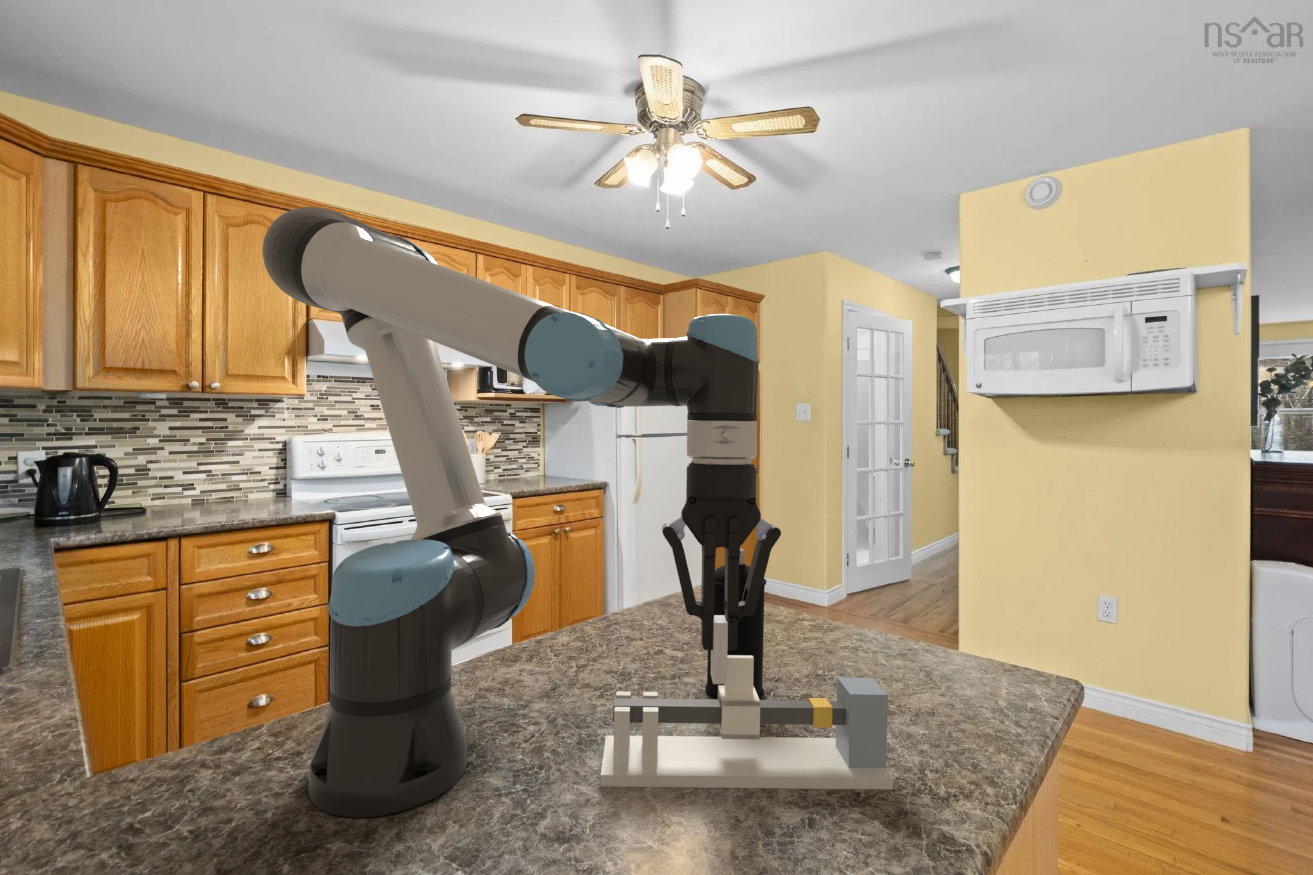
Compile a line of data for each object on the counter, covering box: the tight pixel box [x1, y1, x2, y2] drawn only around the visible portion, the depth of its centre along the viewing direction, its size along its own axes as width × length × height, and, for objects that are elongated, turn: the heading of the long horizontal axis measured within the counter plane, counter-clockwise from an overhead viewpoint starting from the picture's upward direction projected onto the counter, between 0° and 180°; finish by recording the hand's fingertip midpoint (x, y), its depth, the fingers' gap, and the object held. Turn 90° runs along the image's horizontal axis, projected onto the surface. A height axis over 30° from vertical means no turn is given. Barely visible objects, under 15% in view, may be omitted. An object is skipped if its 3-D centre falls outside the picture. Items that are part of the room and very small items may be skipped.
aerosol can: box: [704, 547, 768, 700], centre depth 85 cm, size 8×8×20 cm
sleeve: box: [717, 655, 761, 739], centre depth 66 cm, size 4×4×8 cm
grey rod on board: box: [599, 676, 894, 791], centre depth 66 cm, size 30×8×9 cm, turn 91°
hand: (718, 678), depth 66 cm, fingers closed
